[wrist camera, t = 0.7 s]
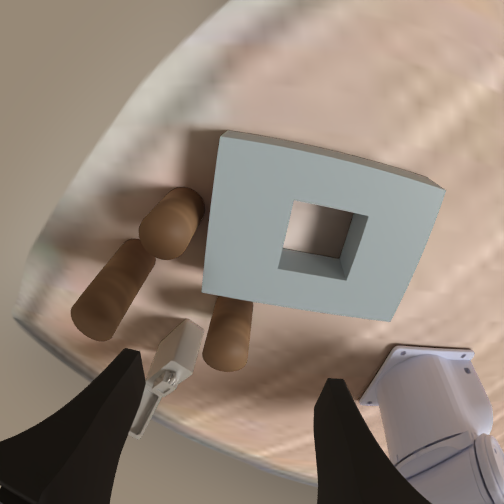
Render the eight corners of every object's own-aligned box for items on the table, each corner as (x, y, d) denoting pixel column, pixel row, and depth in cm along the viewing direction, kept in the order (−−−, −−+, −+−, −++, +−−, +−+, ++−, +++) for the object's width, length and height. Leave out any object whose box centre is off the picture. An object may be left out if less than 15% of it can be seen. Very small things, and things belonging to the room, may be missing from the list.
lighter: (186, 317, 23) (157, 405, 16) (205, 330, 23) (182, 419, 16) (143, 358, 26) (113, 432, 19) (159, 368, 26) (133, 443, 19)
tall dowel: (155, 242, 20) (110, 309, 14) (155, 275, 21) (116, 346, 15) (120, 235, 20) (66, 297, 14) (121, 268, 21) (75, 334, 15)
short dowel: (207, 190, 18) (190, 216, 15) (202, 230, 19) (186, 263, 16) (164, 184, 18) (138, 208, 15) (162, 223, 19) (138, 254, 16)
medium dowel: (256, 293, 21) (250, 346, 17) (249, 321, 23) (243, 374, 18) (217, 286, 21) (203, 337, 17) (214, 315, 23) (201, 367, 18)
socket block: (427, 177, 17) (445, 190, 14) (380, 298, 21) (390, 321, 19) (227, 130, 16) (220, 136, 14) (209, 270, 21) (201, 292, 18)
